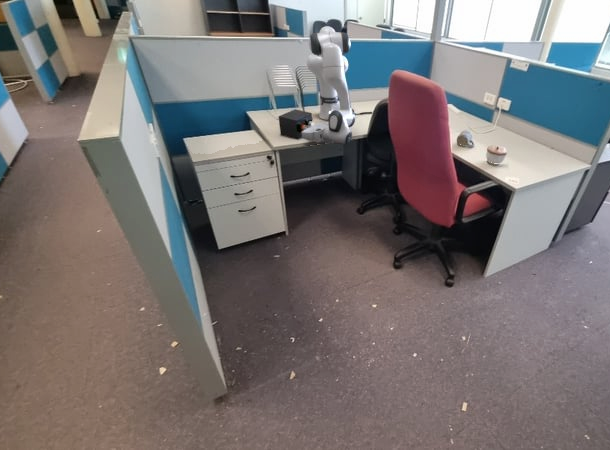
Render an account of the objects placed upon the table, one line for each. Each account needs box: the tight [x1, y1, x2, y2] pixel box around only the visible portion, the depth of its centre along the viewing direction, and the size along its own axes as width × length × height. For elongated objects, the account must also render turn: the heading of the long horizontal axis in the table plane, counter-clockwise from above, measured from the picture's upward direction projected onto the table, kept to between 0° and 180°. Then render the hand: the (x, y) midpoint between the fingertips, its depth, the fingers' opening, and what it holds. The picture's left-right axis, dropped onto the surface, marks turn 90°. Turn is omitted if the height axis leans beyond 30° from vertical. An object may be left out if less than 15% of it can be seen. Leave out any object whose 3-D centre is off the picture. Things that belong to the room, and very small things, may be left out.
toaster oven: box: [277, 109, 313, 140], centre depth 197 cm, size 18×13×11 cm
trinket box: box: [485, 145, 508, 166], centre depth 181 cm, size 11×11×9 cm
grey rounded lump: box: [456, 130, 475, 148], centre depth 200 cm, size 11×8×8 cm
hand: (304, 127), depth 192 cm, fingers closed, pressing on orange button
